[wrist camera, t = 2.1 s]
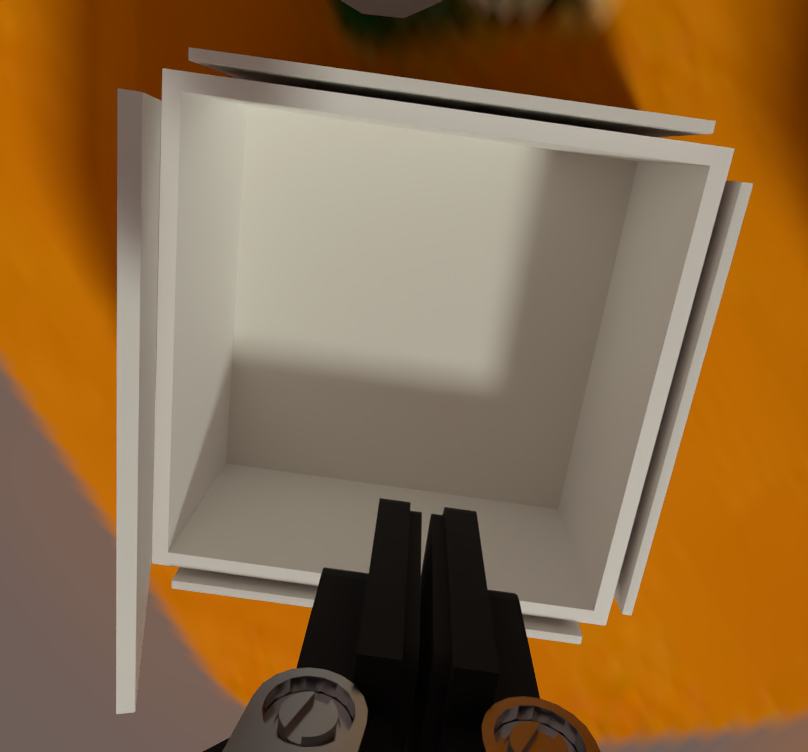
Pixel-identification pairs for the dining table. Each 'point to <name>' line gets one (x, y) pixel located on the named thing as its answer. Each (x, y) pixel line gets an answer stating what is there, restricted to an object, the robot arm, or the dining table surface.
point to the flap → (135, 373)
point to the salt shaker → (390, 6)
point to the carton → (425, 327)
